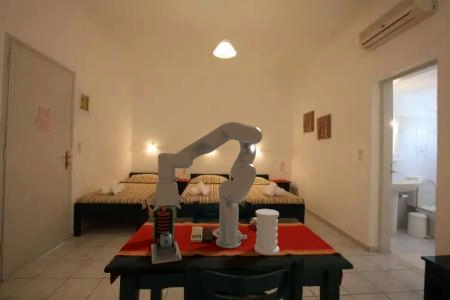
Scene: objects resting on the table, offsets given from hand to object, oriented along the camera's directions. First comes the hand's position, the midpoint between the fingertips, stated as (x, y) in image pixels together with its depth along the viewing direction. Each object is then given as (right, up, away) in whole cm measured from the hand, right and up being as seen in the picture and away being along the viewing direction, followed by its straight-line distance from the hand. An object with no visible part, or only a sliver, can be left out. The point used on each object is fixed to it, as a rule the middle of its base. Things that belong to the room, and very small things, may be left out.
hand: (167, 217), depth 106 cm
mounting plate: (-1, -16, 0) cm, 16 cm away
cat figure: (+48, -17, +32) cm, 60 cm away
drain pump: (-1, -15, 0) cm, 15 cm away
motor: (-6, -16, +15) cm, 23 cm away
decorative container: (+46, -17, +5) cm, 49 cm away
